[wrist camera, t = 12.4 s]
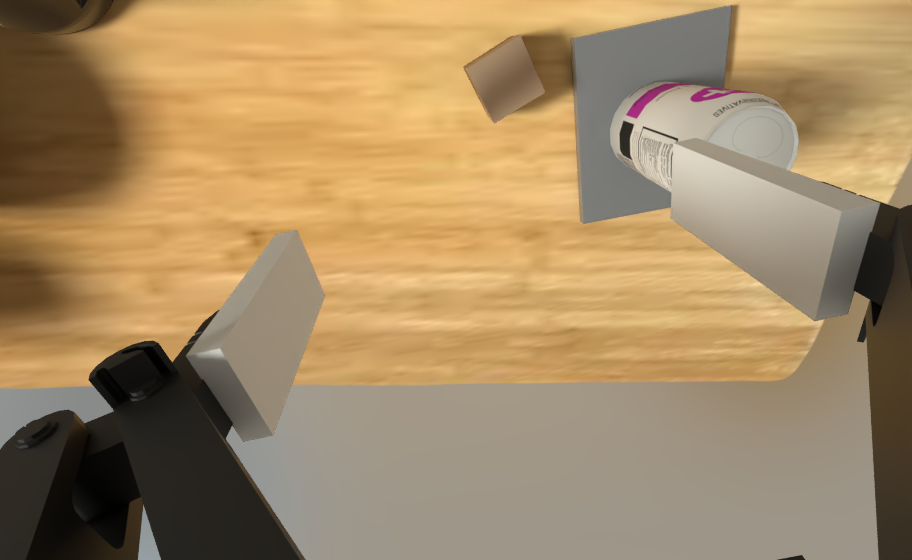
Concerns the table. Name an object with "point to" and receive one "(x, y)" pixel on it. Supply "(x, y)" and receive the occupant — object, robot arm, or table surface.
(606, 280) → the table surface
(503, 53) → the walnut block
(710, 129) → the supplement can
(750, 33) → the table surface
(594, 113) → the slate board
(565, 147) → the table surface
